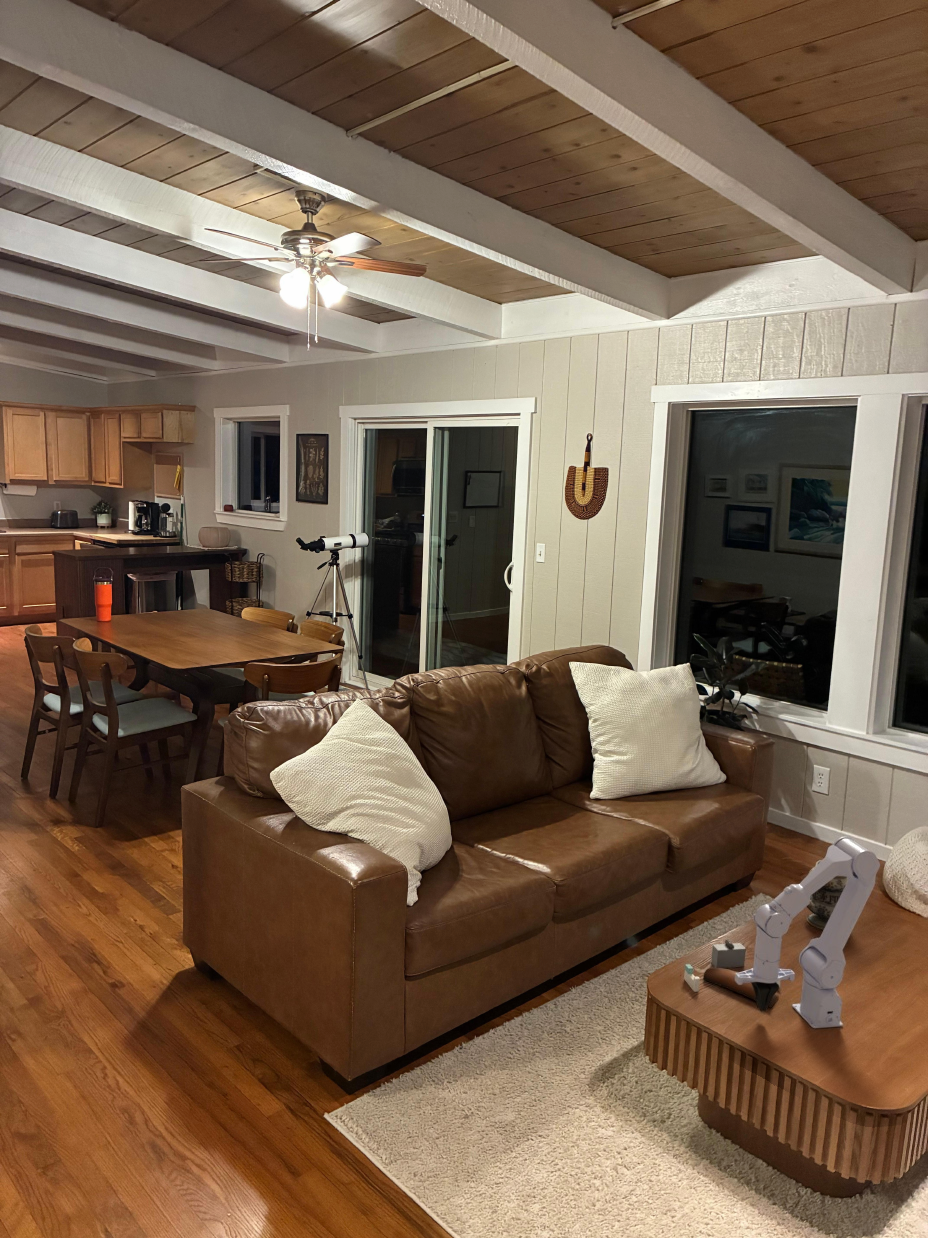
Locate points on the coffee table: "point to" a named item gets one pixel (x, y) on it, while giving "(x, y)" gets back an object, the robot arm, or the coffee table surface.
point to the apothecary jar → (825, 900)
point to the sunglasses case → (733, 983)
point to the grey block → (728, 955)
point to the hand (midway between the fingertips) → (761, 1009)
